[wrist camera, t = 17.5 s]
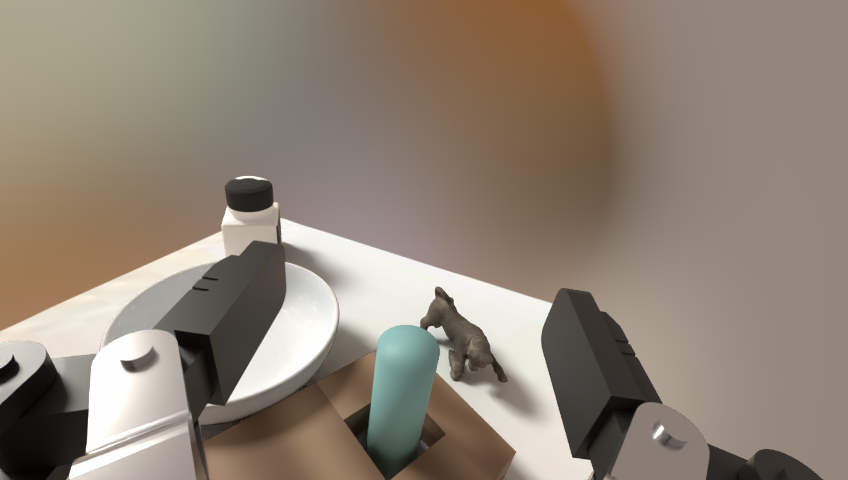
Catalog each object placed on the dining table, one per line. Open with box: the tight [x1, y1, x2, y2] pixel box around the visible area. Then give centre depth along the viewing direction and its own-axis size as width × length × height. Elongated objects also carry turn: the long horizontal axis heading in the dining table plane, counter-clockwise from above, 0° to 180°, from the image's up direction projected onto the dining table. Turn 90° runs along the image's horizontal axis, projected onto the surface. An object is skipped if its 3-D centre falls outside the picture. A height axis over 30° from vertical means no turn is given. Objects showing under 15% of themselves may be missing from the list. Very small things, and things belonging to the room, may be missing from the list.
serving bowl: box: [99, 260, 339, 425], centre depth 39 cm, size 21×21×7 cm
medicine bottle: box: [221, 176, 281, 257], centre depth 55 cm, size 7×7×12 cm
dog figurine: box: [420, 287, 508, 383], centre depth 43 cm, size 12×6×7 cm, turn 34°
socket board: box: [203, 350, 516, 480], centre depth 31 cm, size 22×16×4 cm
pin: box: [366, 325, 440, 480], centre depth 31 cm, size 5×5×14 cm
